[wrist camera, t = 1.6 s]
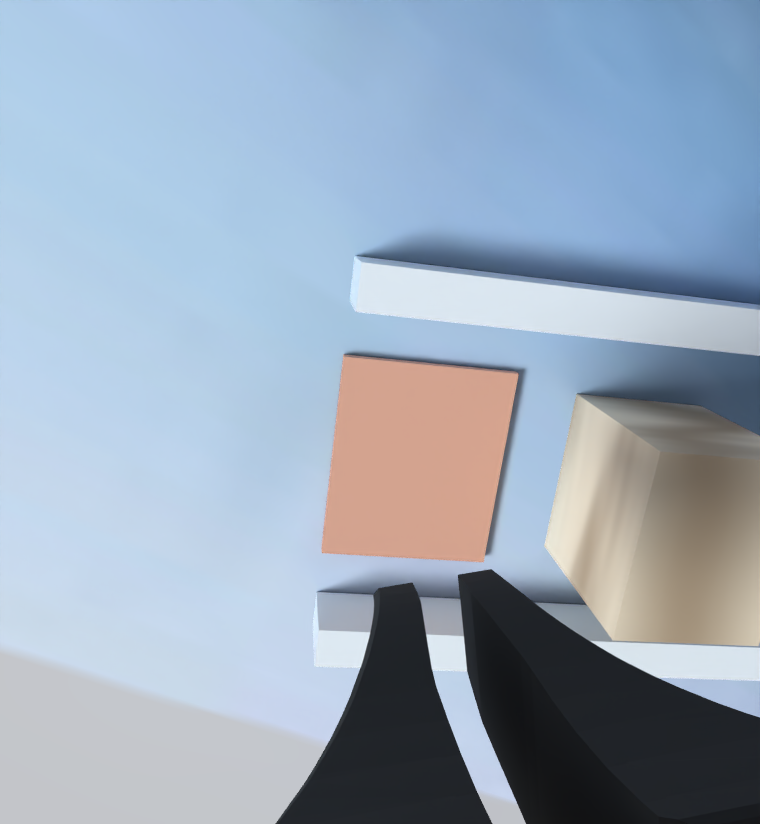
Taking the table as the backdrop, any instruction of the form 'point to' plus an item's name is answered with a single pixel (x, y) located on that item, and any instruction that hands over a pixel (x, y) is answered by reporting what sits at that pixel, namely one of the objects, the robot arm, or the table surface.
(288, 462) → the table surface
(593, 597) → the pale gold metal block
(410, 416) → the trap channel
